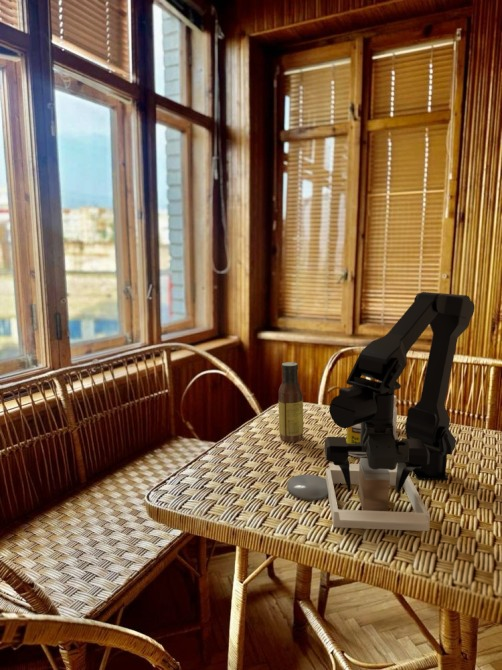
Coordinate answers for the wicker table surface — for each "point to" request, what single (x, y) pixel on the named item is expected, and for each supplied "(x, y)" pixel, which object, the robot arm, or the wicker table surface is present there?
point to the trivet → (308, 487)
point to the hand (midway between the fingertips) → (373, 491)
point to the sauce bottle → (290, 405)
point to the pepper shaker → (394, 413)
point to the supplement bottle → (354, 438)
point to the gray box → (373, 487)
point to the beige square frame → (376, 518)
